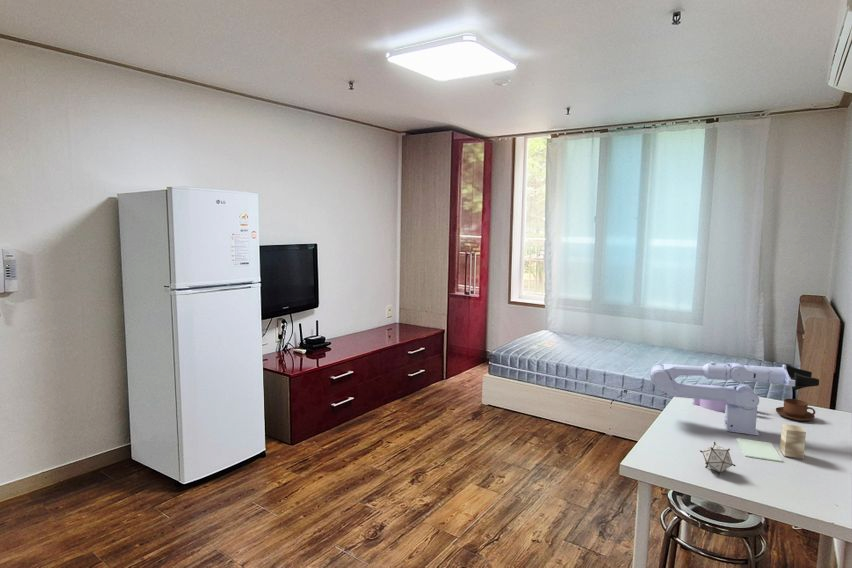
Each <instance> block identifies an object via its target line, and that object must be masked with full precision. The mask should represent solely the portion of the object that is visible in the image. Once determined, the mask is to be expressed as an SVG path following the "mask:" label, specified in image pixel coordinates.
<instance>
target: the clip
mask: <svg viewBox="0 0 852 568" xmlns="http://www.w3.org/2000/svg"><path fill="white" fill-rule="evenodd" d="M696 385H702V384H701V383H697V384H696ZM705 385H706V386H716V385H714V384H713V385H712V384H705ZM717 386H718V387H722V386H721V385H717ZM726 404H731V403H729V402H726V401H714V400H703V399H693V400H692V405H693V406H700V408H703V409H706V410H710V411H714V412H722V413H723V412H724V413H725V408H726Z"/></svg>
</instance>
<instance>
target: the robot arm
mask: <svg viewBox="0 0 852 568" xmlns="http://www.w3.org/2000/svg"><path fill="white" fill-rule="evenodd" d="M649 374H650V381H651V382H652V384H653V386H654V387H655V388H656V389H658V390H660V391H662V392H664V393H665V394H667V395H668V396H670V397H674V398H682V399H703V400H714V401H726V402H729V403H731V404H726V408H725V412H724V422H723V424H724V426H725V428H726V430H727V432H730V433H738V434H745V435H755V436H760V433H759V432H758V430H757V429H756V428H757V427H756V426H757V418H758V417H757V415H758V406H759V404H760V397H759V396H758V394H757V393H755V391H754V389H753V387H751V386H750V385H749V384H744V383H745V382H752V383H761V384H763V383H764V384H774V385H782V386H788V387H791V388H792V390H794V391H799V390H801V389H804V388H810V387H818V386H819V385H820V379H819V378H816V377H812V376H813V375H812V374H813V372H812V371H809V370H806V369H802V368H798V367H794V366H793V365H790V364H788V363H786V364H782V366H777V367H775V366H764V365H763V366H762V365H745V364H744V365H742V364H741V363H739V362H735V361H732V362H726V363H715V361H710V362H709V363H706V364H703V366H701V365H700V366H698V365H687V364H674V363H663V364H660V363H655V364H653V365H652V366H651V367H650V369H649ZM680 376H681V377H683V376H685V377H686V376H687V377H689V376H692V377H693V376H698V377H699V376H703V377H704V378H705V379H707V380H715V381H716V380H718V381H719V380H720V381H729V380H732V381H733V382H736V383H738V384H737V385H727V386H721V387H718V386H719V385H715V386H706V385H707V384H701V385H697V384H690V383H678V382H677V380H676V378H678V377H680Z"/></svg>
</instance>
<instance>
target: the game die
mask: <svg viewBox="0 0 852 568" xmlns="http://www.w3.org/2000/svg"><path fill="white" fill-rule="evenodd" d="M730 450H731V449H730V448H724V447H722V446H720V445H718V444H717V443H716V441H714V442H713V445H711V446H709V447H708V448H706V449H704V450H699V452H700V453H702V456H703V458H704V461H705V468H710V469H712V470H714V471H716V472H718V474H719V475H720V476H722V472H723V471H727V469H729V468H731V467H732V466H733V467H737V465H736V464H734V463H733V459H732V458H731V455H730V452H729V451H730ZM705 468H704V469H705Z"/></svg>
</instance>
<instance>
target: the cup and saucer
mask: <svg viewBox="0 0 852 568" xmlns="http://www.w3.org/2000/svg"><path fill="white" fill-rule="evenodd" d="M808 410H811V411H813V412H810V411H808ZM775 412H776V413H777V414H778V415H780V416H781V417H784V418H786V419H790V420H792V421H800V422H807V421H812V420H813V419H815V414H816V409H814V408H813V407H810V406H809V403H808V402H806V401H804V400H801V399H796V398H784V400H783V406H778V407H776V408H775Z"/></svg>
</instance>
